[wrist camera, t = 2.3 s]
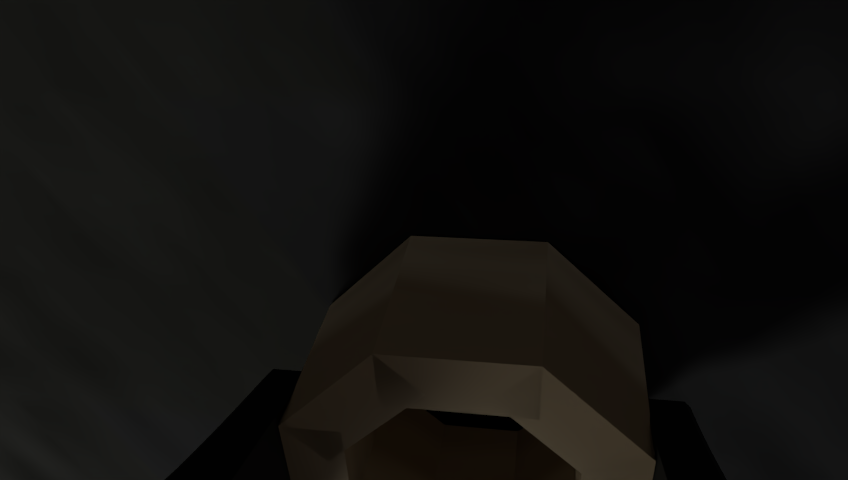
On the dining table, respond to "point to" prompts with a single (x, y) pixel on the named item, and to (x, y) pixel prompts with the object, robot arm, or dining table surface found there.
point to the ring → (472, 372)
